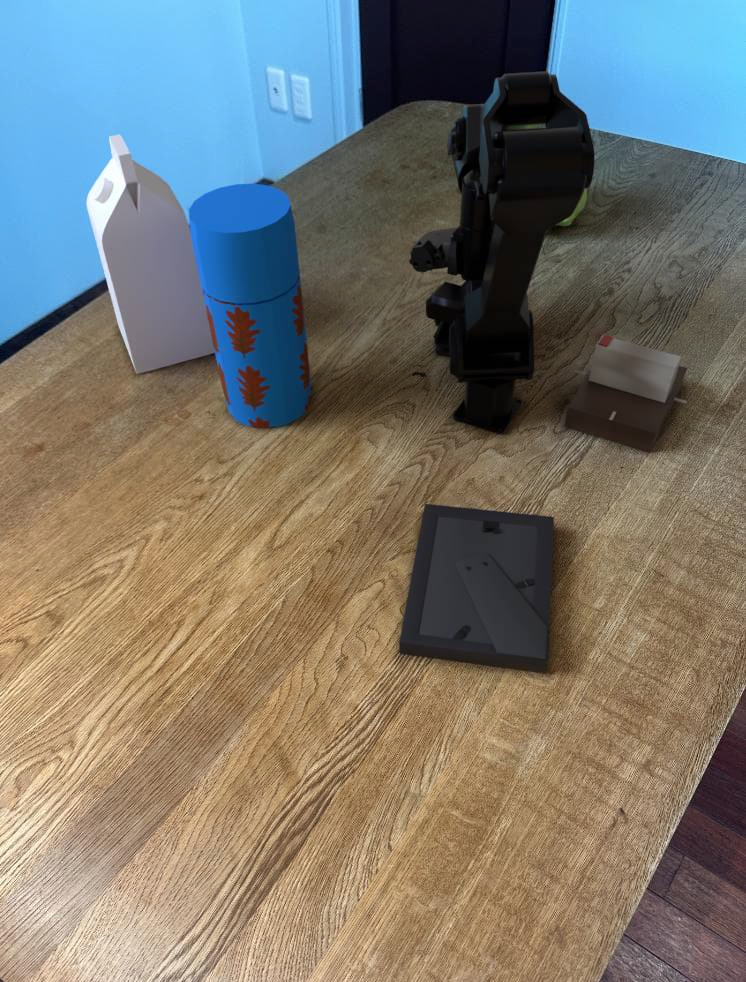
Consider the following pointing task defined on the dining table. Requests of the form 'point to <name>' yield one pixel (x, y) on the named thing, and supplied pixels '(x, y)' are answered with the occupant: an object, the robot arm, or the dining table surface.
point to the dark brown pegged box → (620, 413)
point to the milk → (148, 264)
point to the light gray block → (634, 368)
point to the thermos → (253, 301)
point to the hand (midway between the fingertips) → (475, 334)
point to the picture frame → (481, 588)
